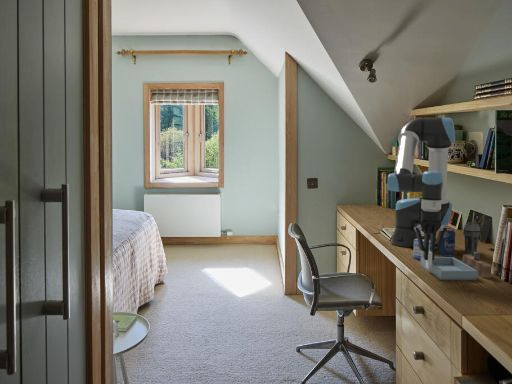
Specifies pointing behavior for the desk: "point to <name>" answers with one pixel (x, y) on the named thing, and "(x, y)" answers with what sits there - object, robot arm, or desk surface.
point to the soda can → (448, 243)
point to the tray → (450, 269)
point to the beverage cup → (471, 237)
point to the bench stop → (478, 265)
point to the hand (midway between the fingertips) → (428, 267)
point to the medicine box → (418, 250)
